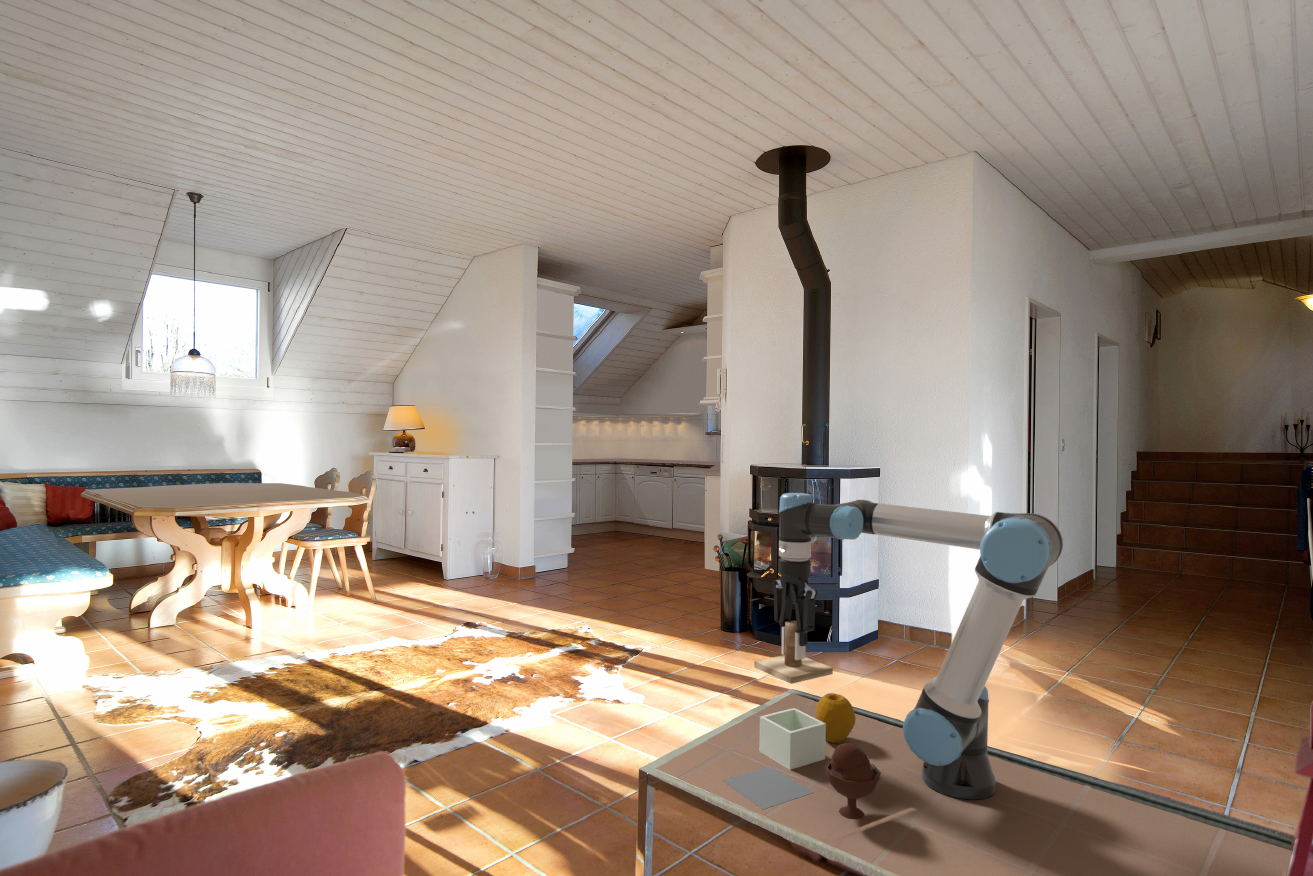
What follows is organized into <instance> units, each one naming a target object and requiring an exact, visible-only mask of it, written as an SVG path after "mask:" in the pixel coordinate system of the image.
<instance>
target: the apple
mask: <svg viewBox="0 0 1313 876" xmlns="http://www.w3.org/2000/svg"><path fill="white" fill-rule="evenodd" d="M855 713H856V712H855V710H854V708H853V705H852V704H851V702H850V700H848V698H847V697H845V696H843V695H841V694H839V693H833V692H830V693H829V692H828V693H826V694H824V695H823V696H822V697H821V698H820V699H819V701H818V702H817V704H816V707H815V719H817V720H819V721H821V722H823V723H825V724H826V741H828V742H829V743H832V744H840V743H842V742H843V741H845V740H846V739H847V737H848V736H849V735H850V733H851V732H852V730H853V729H854V726H855V725H856V714H855Z"/></svg>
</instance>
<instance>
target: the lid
mask: <svg viewBox="0 0 1313 876" xmlns="http://www.w3.org/2000/svg"><path fill="white" fill-rule="evenodd" d="M795 630H798V628H797V620H790V621H786V622H785V655H783V654H782V655H778V656H774V657H773V656H772V657H770V658H764V659H759V660H755V661H754V668H755V669H757V670H759V671H762V672H763V673H766V674H768V675H771V676H772V677H775V678H777V679H779V680H781V681H784V682H786V683H788V684H790V685H791V684H797V683H800V682H805V681H809V680H813V679H818V678H822V677H826V676H831V675H833V673H834V671H833V670H834V668H833V667H831V666H829V665H826V664H824V663H822V662H819V661H816V660H813V659H811V658H809V657H806V658H805V659H800V660H795V632H796V631H795Z"/></svg>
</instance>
